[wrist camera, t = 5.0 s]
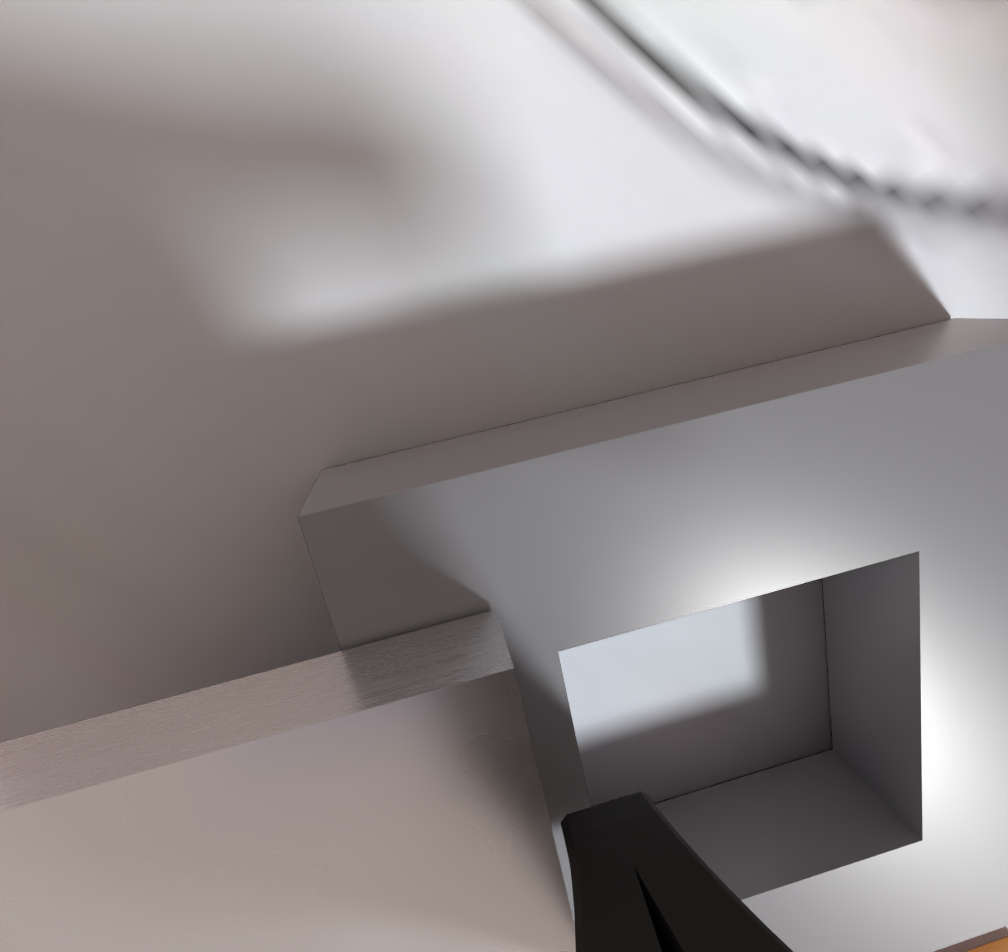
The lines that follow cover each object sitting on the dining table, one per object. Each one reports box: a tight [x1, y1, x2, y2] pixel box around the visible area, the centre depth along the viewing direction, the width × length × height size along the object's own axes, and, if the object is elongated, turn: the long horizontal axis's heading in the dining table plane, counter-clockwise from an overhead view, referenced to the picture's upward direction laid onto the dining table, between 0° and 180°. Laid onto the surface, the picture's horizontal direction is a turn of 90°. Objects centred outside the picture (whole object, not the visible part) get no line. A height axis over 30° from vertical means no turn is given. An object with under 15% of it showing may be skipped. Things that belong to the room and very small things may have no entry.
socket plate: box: [298, 318, 1008, 952], centre depth 11 cm, size 12×12×2 cm
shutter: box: [0, 610, 576, 952], centre depth 9 cm, size 7×8×2 cm
